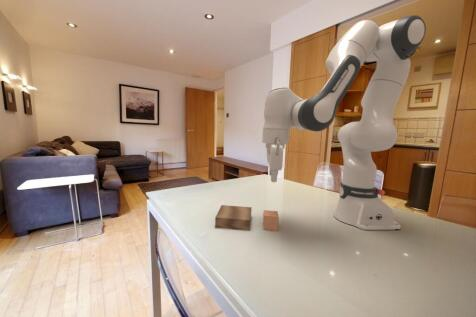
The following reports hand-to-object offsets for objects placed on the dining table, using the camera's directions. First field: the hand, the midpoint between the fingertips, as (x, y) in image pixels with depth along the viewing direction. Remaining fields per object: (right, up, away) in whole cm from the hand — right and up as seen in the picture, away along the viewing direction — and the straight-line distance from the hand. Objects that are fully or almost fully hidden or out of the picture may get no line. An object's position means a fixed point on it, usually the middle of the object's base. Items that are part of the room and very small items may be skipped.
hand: (272, 178), depth 71 cm
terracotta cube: (-1, -18, +2) cm, 18 cm away
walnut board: (-13, -17, +6) cm, 22 cm away
